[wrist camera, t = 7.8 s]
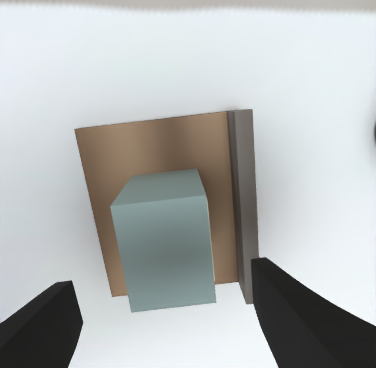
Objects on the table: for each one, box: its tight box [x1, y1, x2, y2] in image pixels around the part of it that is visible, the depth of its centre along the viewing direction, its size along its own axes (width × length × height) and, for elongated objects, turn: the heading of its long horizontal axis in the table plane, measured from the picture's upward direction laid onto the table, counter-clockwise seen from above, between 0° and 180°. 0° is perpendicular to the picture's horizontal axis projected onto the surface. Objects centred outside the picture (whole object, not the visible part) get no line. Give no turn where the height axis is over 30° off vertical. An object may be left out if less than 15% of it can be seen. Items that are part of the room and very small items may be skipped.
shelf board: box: [74, 109, 259, 304], centre depth 18 cm, size 11×13×3 cm
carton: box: [110, 168, 216, 312], centre depth 16 cm, size 5×6×6 cm
